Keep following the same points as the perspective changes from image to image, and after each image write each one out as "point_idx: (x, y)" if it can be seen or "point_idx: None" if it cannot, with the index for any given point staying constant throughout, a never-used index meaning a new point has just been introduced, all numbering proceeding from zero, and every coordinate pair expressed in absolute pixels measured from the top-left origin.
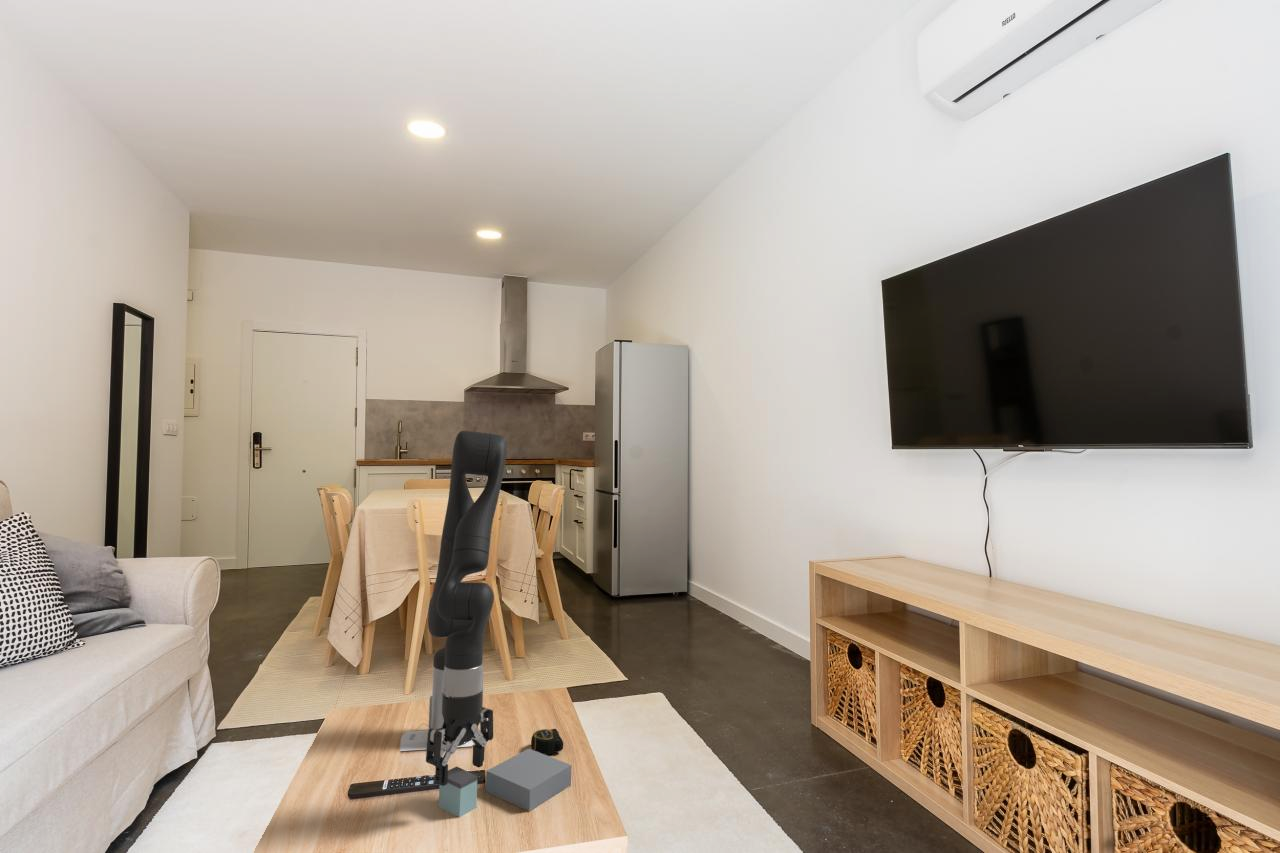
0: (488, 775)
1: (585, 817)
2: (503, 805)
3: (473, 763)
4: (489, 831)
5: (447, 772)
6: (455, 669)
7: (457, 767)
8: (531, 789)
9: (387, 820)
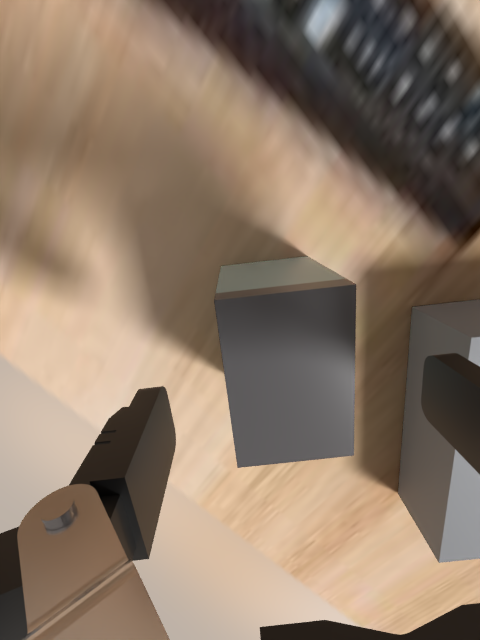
0: (456, 345)
1: (458, 588)
2: (378, 420)
3: (431, 365)
4: (254, 491)
5: (159, 501)
6: None
7: (349, 302)
8: (445, 560)
9: (13, 201)
